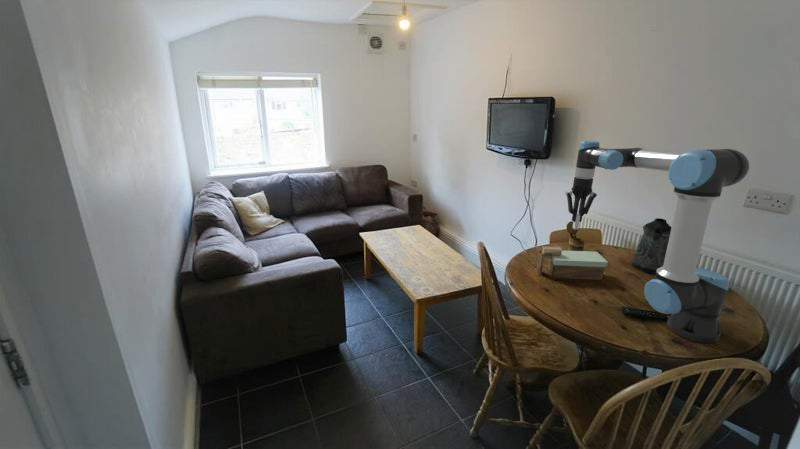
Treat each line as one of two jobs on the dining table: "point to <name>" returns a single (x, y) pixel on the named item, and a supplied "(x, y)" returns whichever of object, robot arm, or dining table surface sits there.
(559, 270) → the toolbox
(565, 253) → the lid
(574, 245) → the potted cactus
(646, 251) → the beer stein
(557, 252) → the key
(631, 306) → the dining table surface
